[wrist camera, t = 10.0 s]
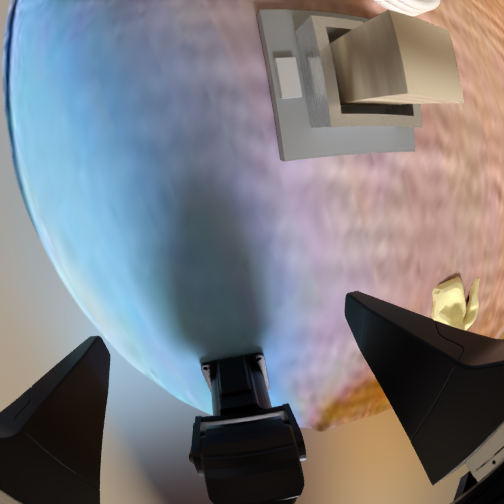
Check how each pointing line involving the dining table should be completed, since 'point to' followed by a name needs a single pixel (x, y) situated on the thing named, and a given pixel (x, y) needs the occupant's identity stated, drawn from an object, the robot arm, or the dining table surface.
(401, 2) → the white thick disc
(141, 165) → the dining table surface
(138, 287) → the dining table surface
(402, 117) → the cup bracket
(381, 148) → the plate
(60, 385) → the robot arm
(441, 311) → the cloth
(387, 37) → the wooden block
